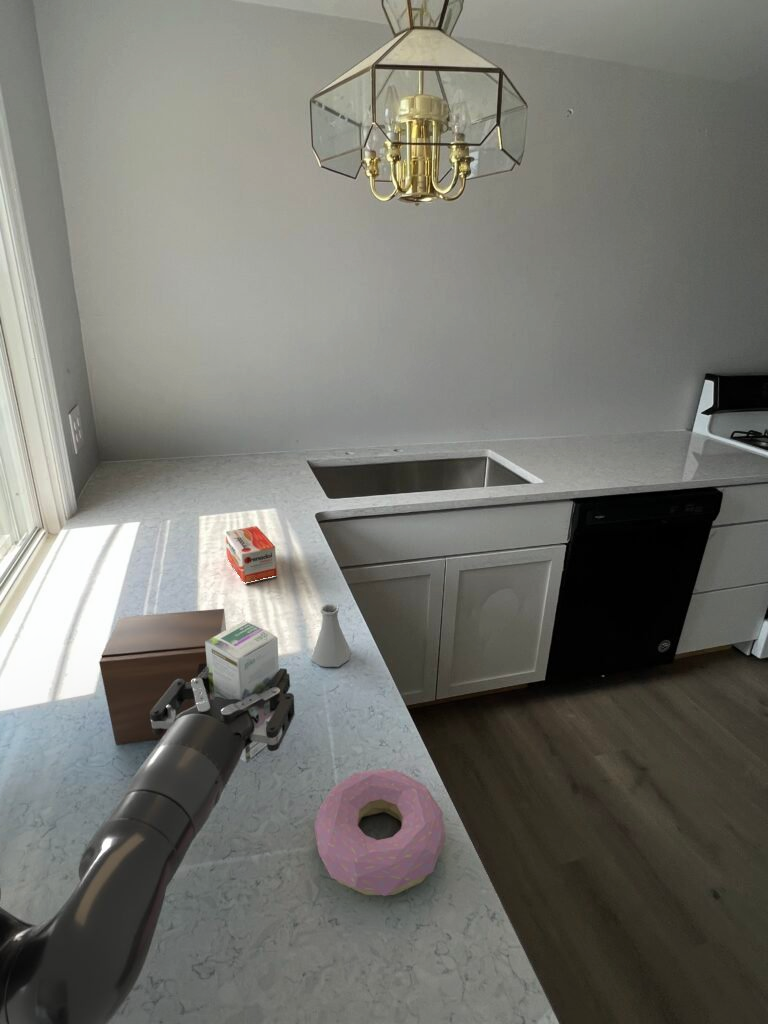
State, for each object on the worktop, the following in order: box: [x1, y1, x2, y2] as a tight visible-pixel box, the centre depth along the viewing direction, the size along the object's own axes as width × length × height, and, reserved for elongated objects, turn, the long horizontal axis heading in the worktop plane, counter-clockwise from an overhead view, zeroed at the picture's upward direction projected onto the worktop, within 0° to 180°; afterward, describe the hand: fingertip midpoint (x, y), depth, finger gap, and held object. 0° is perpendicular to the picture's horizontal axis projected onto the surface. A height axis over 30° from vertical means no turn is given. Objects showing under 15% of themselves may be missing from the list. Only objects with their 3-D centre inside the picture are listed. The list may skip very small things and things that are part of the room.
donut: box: [313, 768, 446, 897], centre depth 66 cm, size 16×15×5 cm
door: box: [98, 648, 211, 745], centre depth 77 cm, size 7×16×14 cm, turn 101°
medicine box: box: [224, 525, 278, 583], centre depth 132 cm, size 15×8×8 cm, turn 29°
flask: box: [310, 603, 351, 668], centre depth 99 cm, size 7×7×10 cm
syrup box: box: [205, 620, 280, 764], centre depth 64 cm, size 6×6×14 cm
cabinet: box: [101, 608, 227, 658], centre depth 85 cm, size 10×16×15 cm, turn 101°
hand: (251, 670), depth 66 cm, fingers closed on syrup box, 7 cm apart
